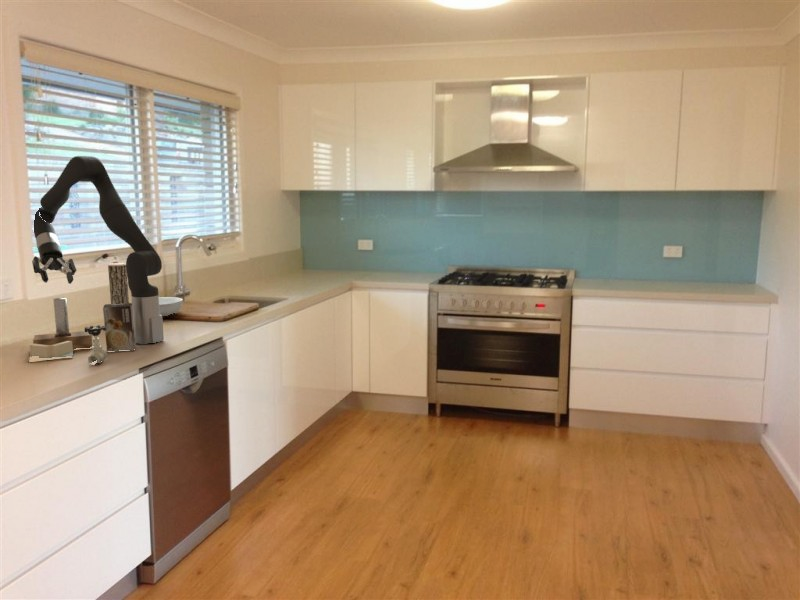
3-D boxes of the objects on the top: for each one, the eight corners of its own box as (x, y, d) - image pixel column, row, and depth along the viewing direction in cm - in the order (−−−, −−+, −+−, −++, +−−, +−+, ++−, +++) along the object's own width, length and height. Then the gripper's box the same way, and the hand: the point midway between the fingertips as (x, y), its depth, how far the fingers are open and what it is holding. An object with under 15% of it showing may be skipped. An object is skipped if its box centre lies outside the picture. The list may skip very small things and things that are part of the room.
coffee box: (136, 347, 242) (133, 302, 239) (134, 351, 235) (131, 305, 233) (108, 348, 239) (104, 303, 236) (106, 353, 233) (102, 307, 230)
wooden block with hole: (92, 344, 246) (91, 330, 245) (92, 349, 239) (91, 335, 238) (36, 349, 238) (34, 335, 238) (34, 354, 231) (33, 340, 230)
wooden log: (111, 326, 275) (106, 265, 270) (113, 323, 281) (109, 263, 277) (129, 325, 276) (125, 264, 272) (131, 322, 283) (127, 262, 278)
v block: (31, 355, 230) (29, 342, 229) (73, 351, 235) (72, 338, 234) (28, 362, 221) (27, 349, 220) (73, 358, 226) (72, 345, 225)
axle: (73, 348, 240) (68, 297, 237) (64, 350, 236) (59, 299, 233) (64, 347, 241) (59, 297, 238) (55, 350, 237) (50, 299, 234)
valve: (112, 360, 223) (109, 325, 221) (104, 366, 217) (101, 329, 215) (91, 361, 223) (88, 325, 221) (83, 366, 216) (80, 329, 214)
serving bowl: (191, 311, 306) (190, 296, 305) (171, 321, 285) (170, 305, 284) (147, 311, 308) (146, 296, 307) (124, 320, 287) (122, 304, 286)
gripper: (32, 239, 249) (41, 274, 242) (71, 242, 259) (82, 276, 253) (25, 252, 253) (34, 287, 246) (64, 255, 263) (74, 288, 257)
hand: (58, 281), depth 249 cm, fingers open, 8 cm apart
